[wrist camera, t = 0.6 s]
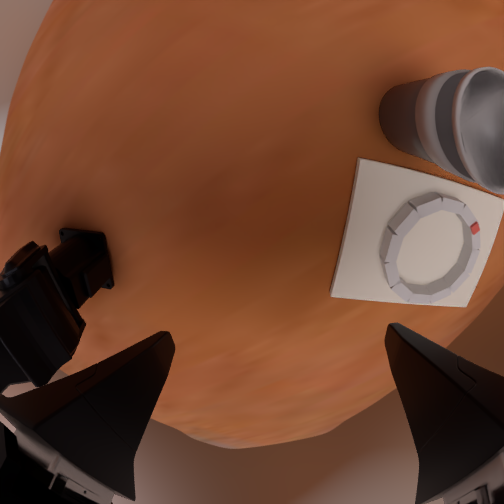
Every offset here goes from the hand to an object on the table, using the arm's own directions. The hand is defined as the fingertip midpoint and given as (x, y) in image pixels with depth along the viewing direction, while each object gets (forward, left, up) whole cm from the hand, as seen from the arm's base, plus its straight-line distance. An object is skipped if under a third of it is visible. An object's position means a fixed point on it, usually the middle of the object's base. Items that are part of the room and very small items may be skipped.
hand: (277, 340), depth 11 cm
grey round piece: (+9, +10, -13) cm, 19 cm away
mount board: (+13, 0, -13) cm, 18 cm away
